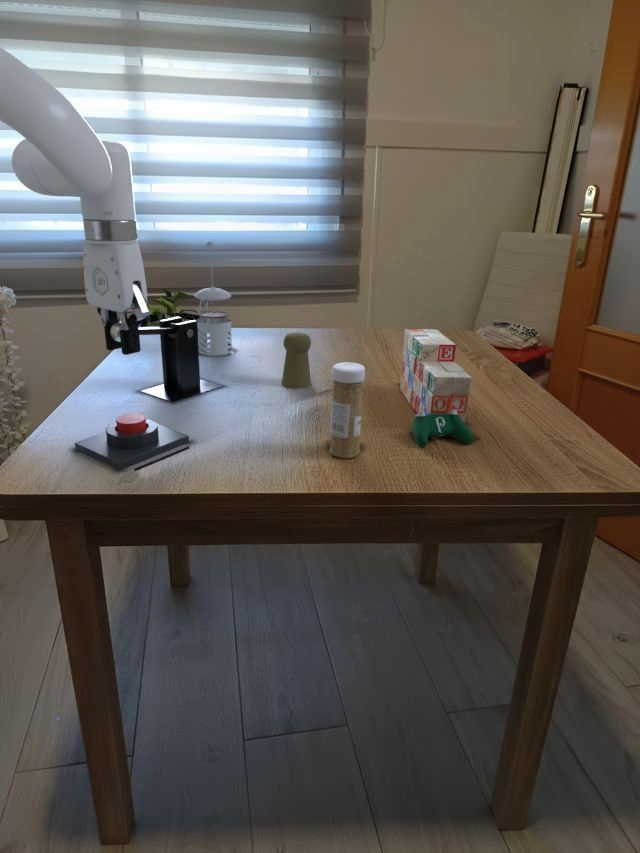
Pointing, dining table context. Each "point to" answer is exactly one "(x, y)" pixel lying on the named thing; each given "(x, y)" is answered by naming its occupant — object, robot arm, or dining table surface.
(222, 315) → the french press
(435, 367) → the stack of blocks
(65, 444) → the dining table surface
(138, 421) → the button
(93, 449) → the button block
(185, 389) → the switch bracket
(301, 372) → the cork
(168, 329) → the switch lever
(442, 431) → the gaming controller
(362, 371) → the sprinkles bottle
